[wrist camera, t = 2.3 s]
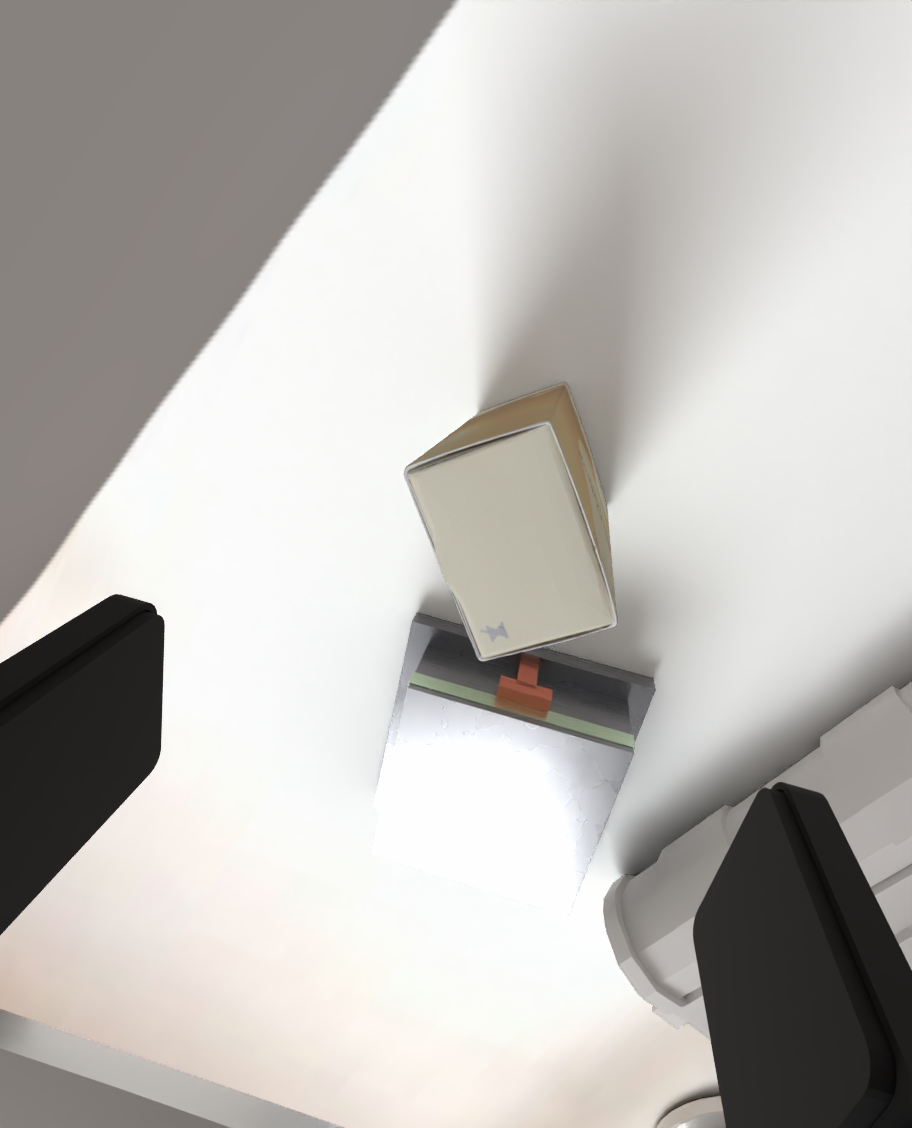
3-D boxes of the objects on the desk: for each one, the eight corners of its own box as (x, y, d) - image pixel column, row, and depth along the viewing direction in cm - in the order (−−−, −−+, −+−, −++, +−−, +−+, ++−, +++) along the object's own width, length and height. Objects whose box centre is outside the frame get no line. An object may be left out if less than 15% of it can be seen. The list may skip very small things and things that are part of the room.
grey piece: (653, 678, 31) (665, 741, 27) (583, 856, 36) (583, 935, 32) (417, 612, 33) (389, 662, 28) (378, 793, 37) (349, 862, 33)
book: (536, 908, 39) (528, 1042, 32) (964, 590, 28) (1096, 687, 21) (770, 1080, 41) (811, 1241, 34) (1253, 847, 30) (1461, 1014, 23)
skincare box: (610, 511, 29) (628, 638, 18) (518, 539, 30) (480, 675, 19) (565, 371, 27) (553, 414, 16) (470, 407, 28) (396, 470, 17)
